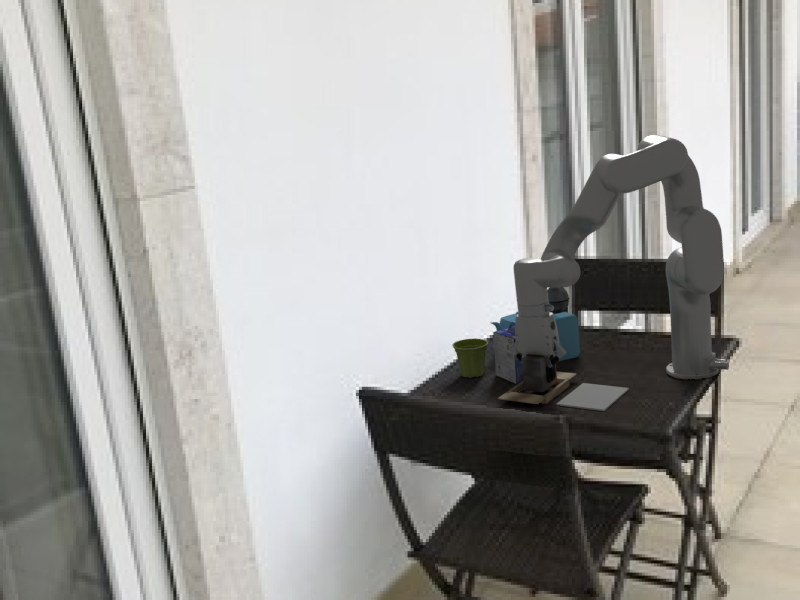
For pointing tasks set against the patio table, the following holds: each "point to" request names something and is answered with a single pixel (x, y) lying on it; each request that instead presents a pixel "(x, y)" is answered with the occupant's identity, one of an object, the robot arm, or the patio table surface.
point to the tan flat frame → (536, 399)
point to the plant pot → (471, 356)
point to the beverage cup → (558, 299)
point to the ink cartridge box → (507, 356)
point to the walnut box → (535, 373)
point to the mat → (593, 396)
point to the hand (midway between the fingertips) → (540, 379)
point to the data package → (568, 334)
